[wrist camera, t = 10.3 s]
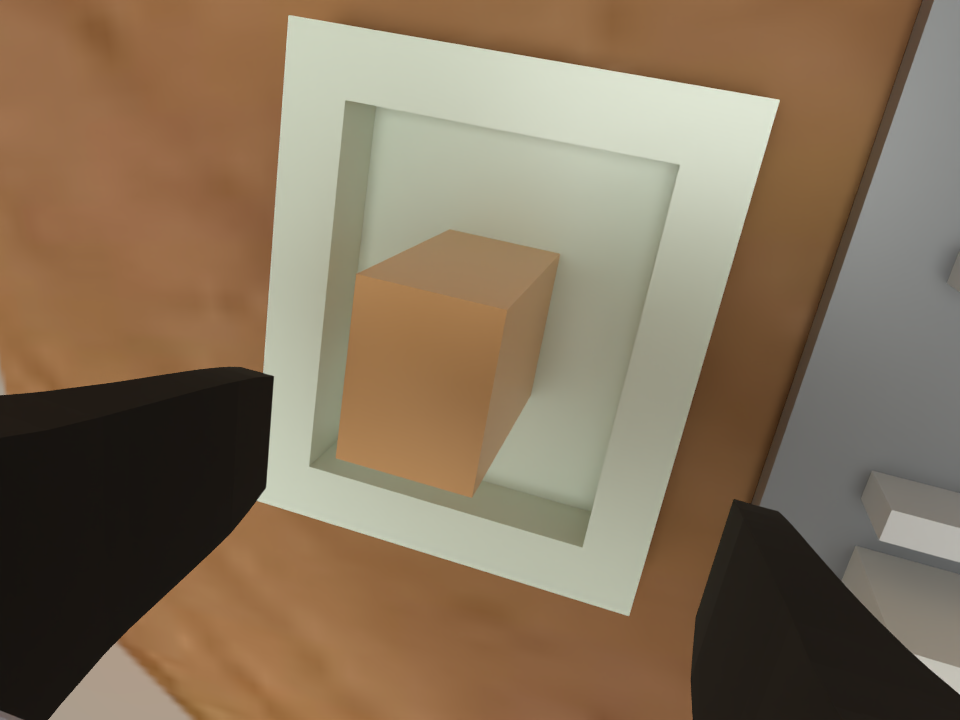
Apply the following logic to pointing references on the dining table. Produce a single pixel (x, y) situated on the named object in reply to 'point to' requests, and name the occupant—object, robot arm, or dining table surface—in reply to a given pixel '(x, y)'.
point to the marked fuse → (443, 357)
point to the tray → (524, 221)
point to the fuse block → (890, 371)
